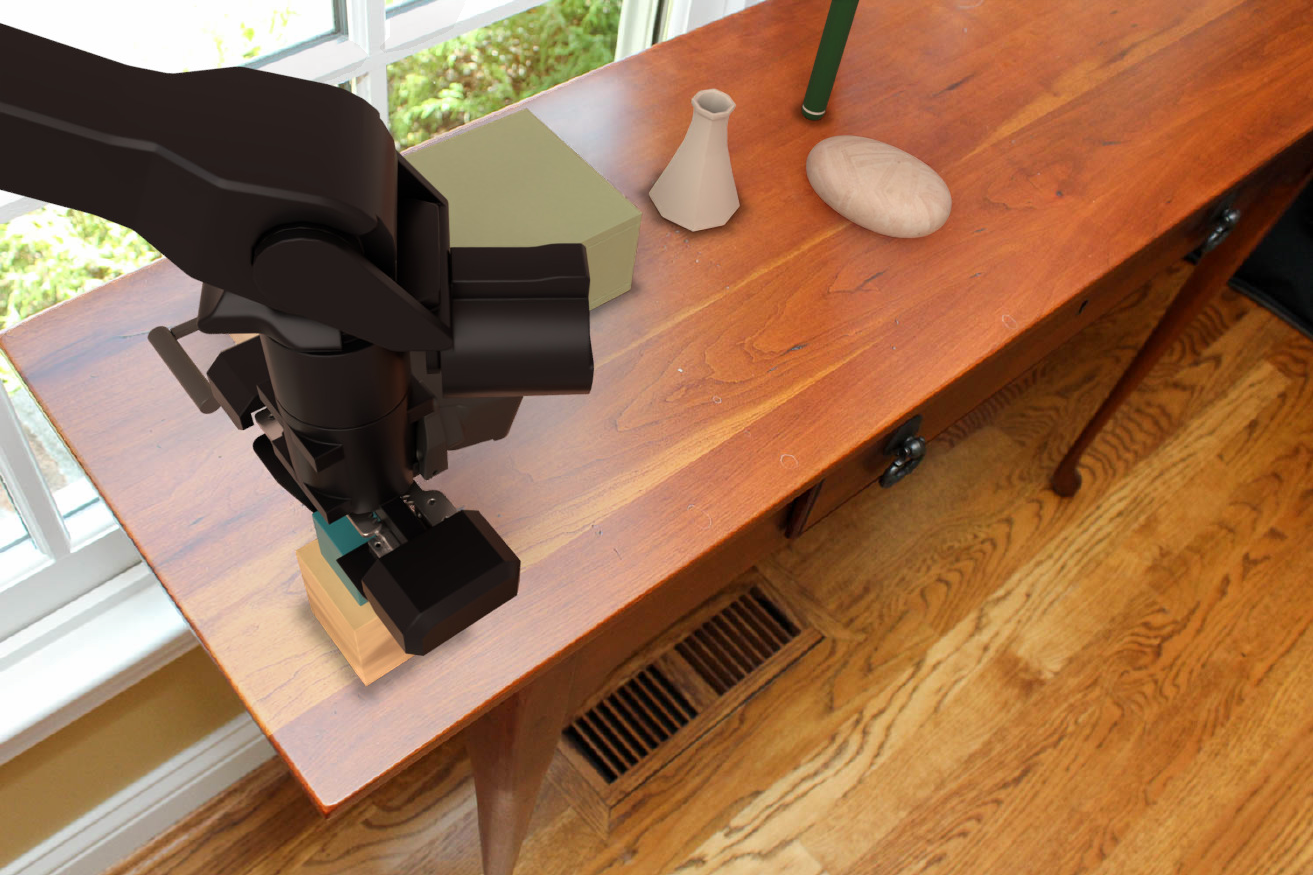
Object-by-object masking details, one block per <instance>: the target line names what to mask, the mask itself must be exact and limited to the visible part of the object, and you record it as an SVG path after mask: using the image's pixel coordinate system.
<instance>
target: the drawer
mask: <svg viewBox="0 0 1313 875" xmlns="http://www.w3.org/2000/svg"><path fill="white" fill-rule="evenodd" d="M197 317H198V316H196V317H194V318H191V319H190V320H187V321H184V322H183V323H180V324H177V325H175V326H173V327H170V328H168V327H167V326H164V325H160V326H156V327H154V328H152V329H151V330H150V331H149V332H148V334H147V340H148V342H149V343H150V345H151V346H152V348H153V350H155V351H156V353H157V355H158V356H159V357H160V358H161V360H162V361H163V363H164V364H165V365H166V366H167V368H168V369H169V371H170V372H171V374H172V375H173V376H174V377H175V379H176V380H177V382H178V383H179V385H180V386H181V388H183V390H184V391H185V393H186V394H187V395H188V396H189V398H190V399H191V400H192V402H193V403H194V405H195V406H196V407H197V408H198V410H199V412H200V413H202V414H204V415H210V414H214V413H216V412H217V411H218V410H219V409H220V408H222V407H221V406H220V404H219V403H218V402H217V400H216V399H215V398H214V396H213V393H212V390H211V387H210V384H209V381H208V378H206V377H205V376H204V374H203V372H202V371H201V370H200V369H199V367H198V366H197V365H196V363H195V362H194V360H192V358H191V356H190V355H189V354H188V353H187V351H186V350H185V349H184V347H183V346H182V345H181V343H180V342H179V341H178V340H180V339H182V338H184V337H187V336H189V335H191V334H193V333H196V332H198V331H199V329H198V328H197V324H196V323H197ZM228 335H229V337H230V338H231V339H232V341H233V342H234V343H235V345H237V344H239V343H241V342H243V341H245V340H248V339H250V338H252V337H254V336H257V335H259V334H228Z"/></svg>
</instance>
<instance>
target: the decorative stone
mask: <svg viewBox="0 0 1313 875" xmlns="http://www.w3.org/2000/svg"><path fill="white" fill-rule="evenodd" d="M805 173H806V177H807V180H808V182H809V185H810V186H811V188H812V189H813V191H814V192H815V194H816V195H817V196H819V198H820V199H821V200H822V201H823V202H824V203H825V204H826V205H827V206H829V207H830V208H831V209H832V210H834V211H835V212H837V213H838V214H839V215H841V216H842V217H844V218H845V219H847V220H849V221H850V222H852V223H854V224H856V225H857V226H860V227H862V228H864V229H866V230H869V231H871V232H874V233H877V234H880V235H883V236H887V237H892V238H898V239H918V238H922V237H923V238H924V237H926V236H929V235H931V234H933V233H936V232H937V231H939V229H941V228H942V227H943V226H944V225H945V224H946V222H947V221H948V219H949V218H950V216H951V213H952V212H951V211H952V206H953V200H952V195H951V191H950V189H949V187H948V185H947V183H946V182H945V180H944V179H943V178H942V177H941V175H939V174H938V173H937V172H936V170H934V169H933V168H932V167H930V166H929V165H928V164H927V163H925V162H924V161H922V160H920V159H919V158H917V157H916V156H914V155H913V154H910V153H909V152H907V151H905V150H903V149H902V148H901V149H900V148H898V147H896V146H893V145H891V144H888V143H886V142H883V141H880V140H877V139H875V138H870V137H865V136H859V135H853V134H852V135H851V134H844V135H843V134H842V135H841V134H840V135H833V136H829V137H827V138H824V139H823V140H821V141H819V142H818V143H816V144H815V145H814V146H813V147H812V149H811V150H810V151H809V153H808V155H807V158H806V163H805Z"/></svg>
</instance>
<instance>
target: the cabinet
mask: <svg viewBox="0 0 1313 875" xmlns="http://www.w3.org/2000/svg"><path fill="white" fill-rule="evenodd" d="M402 156H403V157H404V158H405V159H406V160H407V161H408V162H409V163H410V164H411V165H412V166H413V167H414V168H416V169H417V170H418V171H419V172H420V173H421V174H422V175H423V176H424V177H425V178H426V179H427V180H428V181H429V182H430V183H431V184H432V185H433V186H434V187H435V188H436V189H437V190H438V191H439V192H440V193H441V194H442V195H443V196H444V197H445V198H446V199H447V200H448V203H449V229H450V247H535V246H541V245H546V244H553V243H582V244H583V245H584V246H585V247H586V251H587V259H588V266H589V273H590V289H589V312H590V311H592V310H594V309H596V308H598V307H600V306H601V305H603V304H605V303H607V302H609V301H612V300H614V299H615V298H617V297H619V296H621V295H623V294H625V293H626V292H628V291H631V289H632V282H633V277H634V268H635V263H636V255H637V250H638V242H639V236H640V230H641V222H642V220H643V219H642V218H643V212H642V211H641V210H640V209H639V208H638V207H637V206H636V205H634V204H633V203H632V201H630V200H629V199H628V198H627V197H626V196H624V194H623V193H622V192H620V191H619V190H618V189H617V188H616V187H615V186H614V185H613V184H612V183H611V182H609V181H608V179H606V178H605V177H604V176H603V175H602V174H600V173H599V172H598V171H597V170H596V169H595V168H594V167H593V166H592V165H591V164H589V163H588V162H587V161H586V160H585V159H584V158H582V157H581V156H580V155H579V154H578V153H577V152H576V151H575V150H574V149H573V148H572V147H570V146H569V145H568V144H567V143H566V141H564V140H563V139H562V138H561V137H559V136H558V134H556V133H555V132H554V131H553V130H552V129H551V128H549V127H548V125H546V124H545V122H543V121H542V120H541V119H540V118H538V117H537V116H536V115H535V114H534V113H533V112H532V111H531V110H530V109H529V108H527V107H526V108H522V109H521V110H518V111H516V112H513V113H510V114H508V115H506V116H503V117H501V118H497V119H495V120H493V121H490V122H488V123H487V122H486V123H484V124H483V125H480V126H477V127H475V128H473V129H469V130H467V131H465V132H462V133H460V134H456V135H455V136H452V137H450V138H448V139H444V140H442V141H439V142H437V143H434V144H432V145H429V146H426V147H424V148H422V149H419V150H416V151H414V152H411V153H408V154H406V155H402Z"/></svg>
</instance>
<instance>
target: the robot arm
mask: <svg viewBox="0 0 1313 875" xmlns="http://www.w3.org/2000/svg"><path fill="white" fill-rule="evenodd" d="M403 156H404V155H402V154H401V153H400V151H398V150H397V148H396V144H395V139H394V137H393V135H392V134H391V132H390V130H389V129H388V127H387V126H386V124H385V122H384V121H383V120H382V119H381V113H380V111H379V110H378V109H377V108H376V107H375V106H374V105H372V104H371V103H370V102H368V101H367V100H366V99H364V98H363V97H361V96H359V95H357V94H355V93H353V92H351V91H349V90H347V89H346V88H343V87H340V86H336V85H333V84H328V83H324V82H321V81H315V80H310V79H305V78H300V77H295V76H290V75H285V74H281V73H277V72H276V73H275V72H271V71H266V70H261V69H257V68H252V67H247V66H239V65H237V66H227V67H217V68H209V69H199V70H191V71H183V72H182V71H181V72H164V71H159V70H154V69H148V68H144V67H139V66H134V65H129V64H126V63H122V62H120V61H117V60H113V59H110V58H108V57H104V56H102V55H98V54H95V53H93V52H90V51H86V50H84V49H80V48H78V47H75V46H71V45H68V44H65V43H62V42H59V41H57V40H53V39H50V38H47V37H44V36H41V35H38V34H35V33H32V32H29V31H26V30H23V29H20V28H17V27H14V26H11V25H8V24H4V23H1V22H0V191H2V192H6V193H9V194H15V195H18V196H22V197H26V198H28V199H33V200H36V201H40V202H44V203H47V204H51V205H55V206H58V207H62V208H67V209H71V210H74V211H78V212H81V213H85V214H89V215H92V216H95V217H98V218H102V219H103V220H106V221H109V222H111V223H114V224H116V225H119V226H122V227H124V228H126V229H129V230H131V231H133V232H135V233H136V234H137V235H139V237H141V238H142V239H143V240H144V241H146V242H147V243H148V244H149V245H150V246H152V247H153V248H154V249H155V250H156V251H157V252H158V253H160V254H161V255H162V256H163V257H165V258H166V259H167V260H169V261H170V262H171V263H172V264H174V266H175V267H177V268H178V269H179V270H181V271H182V273H184V274H185V275H187V276H188V277H190V278H192V279H194V280H196V281H198V282H201V284H202V285H201V290H200V291H201V292H200V297H199V303H198V304H199V305H198V310H197V316H196V317H197V323H196V324H197V328H198V329H199V330H198V331H199V332H201V333H203V334H205V335H229V334H259V335H257V336H254V337H252V338H250V339H248V340H245V341H243V342H241V343H239V344H235V345H232V346H230V347H227V348H225V349H223V350H221V351H220V352H219V353H218V355H217V356H216V358H215V360H214V361H213V362H212V364H211V365H210V367H209V368H208V370H207V371H206V372H205V374H206V377H207V381H208V382H209V384H210V387H211V390H212V393H213V396H214V398H215V399H216V400H217V402H218V403H219V404H220V406H221V407H220V408H222V410H223V411H224V413H225V414H226V415H227V416H228V418H229V419H230V420H231V422H232V423H233V424H234V426H235V427H236V428H237V430H239V431H245V430H247V429H249V428H252V427H254V426H255V422H256V424H257V425H258V426H259V428H260V429H261V431H262V432H263V433H262V434H261V435H259V436H257V437H255V439H254V440H253V442H252V450H253V452H254V453H255V455H256V456H257V457H258V458H259V460H260V462H261V463H262V464H263V465H264V467H265V468H266V470H267V471H268V472H269V473H270V475H271V476H272V478H273V479H274V480H275V481H276V483H277V484H278V485H279V486H280V487H282V488H283V489H284V490H285V491H287V492H288V493H289V494H290V495H291V496H292V497H293V498H295V499H296V500H297V501H298V502H300V503H301V504H302V505H303V506H304V507H305V508H306V509H308V510H309V511H310V512H311V513H312V514H313V513H314V512H316V511H319V513H320V514H321V515H322V517H323V518H324V519H325V521H326V522H327V523H328V525H330V524H332V523H333V522H335V521H337V520H339V519H341V518H342V517H344V516H347V518H348V519H349V520H350V522H351V523H352V524H353V525H354V527H355V528H356V529H357V531H358V532H359V533H360V535H361V536H362V537H364V538H370V537H372V536H374V535H375V534H376V535H377V536H376V537H373V538H371V539H370V540H369V541H367V542H366V543H364V544H362V545H360V546H359V547H357V548H355V549H353V550H352V551H350V552H348V553H346V554H345V555H343V556H341V557H340V558H338V559H336V562H337V563H338V565H339V566H340V567H341V569H342V570H343V571H344V573H345V574H346V575H347V577H348V578H349V579H350V581H351V582H352V583H353V585H354V586H355V587H356V589H357V590H358V591H359V593H360V594H361V595H362V597H363V598H364V599H366V600H367V601H368V602H370V604H371V606H372V608H373V610H374V612H375V613H376V615H377V616H378V617H379V619H380V620H381V621H382V623H383V624H384V625H385V627H386V628H387V629H388V631H389V632H390V633H391V635H392V636H393V637H394V639H395V640H396V641H397V643H398V644H399V645H400V647H401V648H402V649H403V651H404V652H405V653H406V654H412V655H414V656H420V657H424V656H427V655H428V654H429V653H431V652H432V651H434V650H436V649H437V648H438V647H440V646H442V645H443V644H445V643H446V642H447V641H449V640H450V639H452V638H454V637H455V636H457V635H458V634H460V633H462V632H463V631H465V630H466V629H468V628H470V626H472V625H474V624H475V623H477V622H478V621H480V620H481V619H483V618H485V617H486V616H488V615H489V614H492V612H494V611H496V610H497V609H498V608H500V607H502V606H503V605H504V604H506V603H508V602H509V601H510V600H512V599H514V598H516V597H518V593H519V592H518V591H519V589H520V588H519V587H520V581H521V568H522V566H521V565H522V560H521V559H520V557H518V555H516V553H515V552H514V551H513V549H511V547H510V546H509V545H508V544H507V542H506V541H505V540H504V539H503V538H502V536H501V535H500V534H499V533H498V532H497V530H496V529H495V528H494V526H492V524H490V522H489V521H488V520H487V519H486V517H484V515H483V514H482V513H481V512H480V510H477V509H460V510H458V509H457V508H456V507H455V506H454V504H453V503H452V502H451V500H450V499H449V498H448V497H447V496H446V494H445V493H443V492H442V491H439V490H437V489H427V490H424V489H423V488H422V487H421V486H420V485H419V484H418V482H416V480H415V478H416V477H418V476H421V477H422V479H423V480H425V481H429V480H430V479H432V478H434V477H436V476H437V475H439V474H441V473H443V472H445V471H447V470H448V469H449V457H448V456H449V455H448V453H449V452H451V451H452V452H454V451H458V450H461V449H465V448H469V447H471V446H475V445H479V444H482V443H485V442H489V441H491V440H492V441H493V442H497V441H500V440H503V439H506V437H507V436H508V435H509V433H510V431H511V428H512V425H513V423H514V421H515V418H516V416H517V414H518V411H519V410H520V406H521V404H522V402H523V399H524V397H540V396H541V397H545V396H575V395H577V396H578V395H579V396H580V395H582V396H583V395H589V394H591V392H592V388H593V382H594V375H595V361H594V352H593V346H592V338H591V315H590V311H589V289H590V273H589V266H588V259H587V251H586V247H585V246H584V245H583V244H582V243H553V244H546V245H541V246H535V247H450V229H449V203H448V200H447V199H446V198H445V197H444V196H443V195H442V194H441V193H440V192H439V191H438V190H437V189H436V188H435V187H434V186H433V185H432V184H431V183H430V182H429V181H428V180H427V179H426V178H425V177H424V176H423V175H422V174H421V173H420V172H419V171H418V170H417V169H416V168H414V167H413V166H412V165H411V164H410V163H409V162H408V161H407V160H406V159H405V158H404V157H403ZM253 413H254V419H255V422H254V419H253V416H252V415H253ZM448 451H449V452H448ZM412 507H413V509H412ZM372 511H373V512H374V513H375V514H376V516H377V517H378V518H379V520H380V521H379V522H378V518H377V517H374V518H373V516H374V514H373V512H372Z"/></svg>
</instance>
